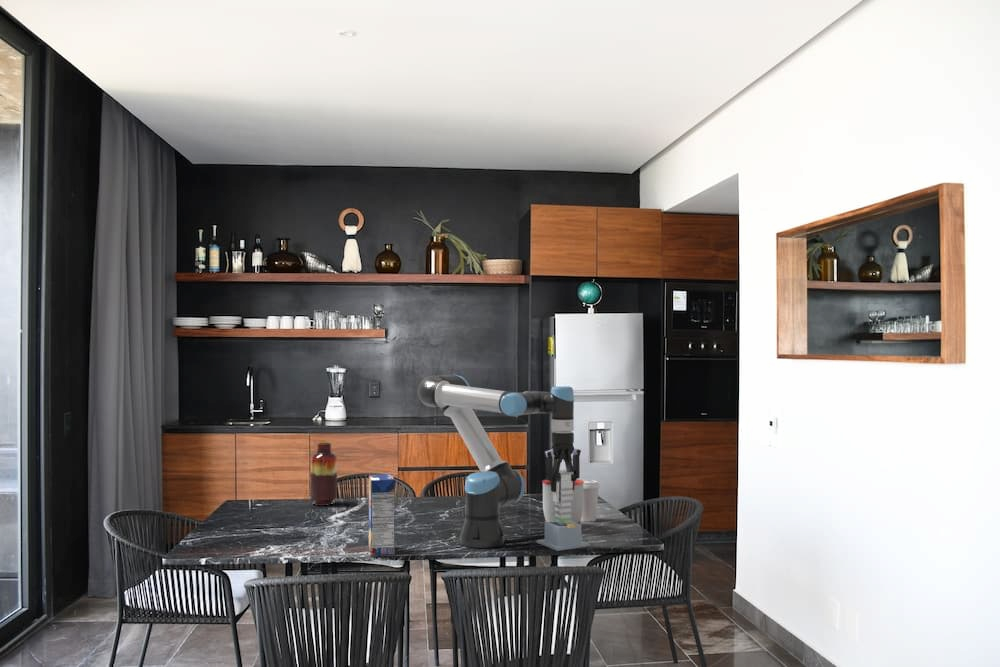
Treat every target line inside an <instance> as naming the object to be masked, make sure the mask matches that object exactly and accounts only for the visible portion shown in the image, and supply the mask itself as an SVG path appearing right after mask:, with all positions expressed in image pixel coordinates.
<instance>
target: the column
mask: <svg viewBox="0 0 1000 667" xmlns="http://www.w3.org/2000/svg"><path fill="white" fill-rule="evenodd" d="M571 474H573V472H572V471H567V470H566V469H561V470H560V469H559V472H558V479H557V482H559V502H555V505H553V507H555V511H553V513H555V516H554V517H553V519H555V524H557V525H560V526H565V525H567V524H571V520H573V518H572V517H571V514H573V512H572V511H571V508H573V506H571V502H573V500H571V496H573V494H571V490H573V488H571Z"/></svg>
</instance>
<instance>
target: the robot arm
mask: <svg viewBox="0 0 1000 667" xmlns="http://www.w3.org/2000/svg"><path fill="white" fill-rule="evenodd" d="M417 395H418V398H419V400H420V402H421V403H422V404H423V405H425V406H426V407H429V408H440V411H441V412H442V414H443V415H444V416H445V417H449V418H450V419H451V422H452V423H453V425H454V427H455V428H456V430H457V432H458V434H459V436H460V437H461V438H462V440H463V442H464V445H465V446H466V448H467V449H468V452H469V454H470V455H471V457H472V459H473V461H474V462H475V463H476V466H477V467H478V469H479V471H476V472H474V473H469V475H467V476H466V478H465V483H464V484H465V485H464V498H465V499H464V500H465V501H464V510H465V511H464V514H465V516H464V523H463V526H462V529H461V532H460V535H459V544H460V545H461V546H464V547H468V548H476V549H477V548H478V549H479V548H480V549H481V548H482V549H485V548H494V547H500V546H502V545H504V544H505V534H504V531H503V528H502V524H501V521H500V508H502V507H503V508H504V507H506V506H510V505H514V504H515V503H517V502H518V501H520V500H521V499H522V498H523V496H524V494H525V492H526V482H525V481H526V480H525V478H524V476H523V475H522V473H520V472H519V471H518V470H516V469H515V470H514V469H512V467H511V465H510V464H509V462H508V461H507V460H506V461H505V460H502V458H501V456H500V455H499V453H498V451H497V450H496V448H495V446H494V444H493V442H492V441H491V439H490V437H489V436H488V434H487V432H486V430H485V429H484V427H483V425H482V423H481V422H480V420H479V418H478V417H477V415H476V413H475V412H474V410H478V411H485V412H492V413H500V414H504V415H506V416H509V417H519V416H525V415H534V414H550V415H551V431H552V432H551V444H552V445H551V449H550V450H545V451H544V458H545V480H548V481H550V482H551V491H552V492H553V501H555V502H559V482H557V479H558V472H559V470H560V469H561V463H562V462H564V465H565V470H567V471H572V472H573V474H571V488H573V490H574V481H576V479H578V480H579V479H580V470H581V469H580V457H581V456H580V455H581V452H582V450H581V449H578V448H575V446H574V442H575V441H574V440H575V436H574V435H575V433H574V432H573V431H574V426H575V425H574V424H575V423H574V420H575V419H574V417H575V416H574V414H575V413H574V409H575V406H574V403H575V398H574V396H575V395H574V389H573V387H572V386H567V385H565V386H561V385H560V386H558V385H556V386H555V385H554V386H552V388H551V391H539V390H538V391H537V390H527V391H526V390H525V391H524V392H515V391H513V392H512V391H507V390H497V389H491V388H482V387H474V386H470V384H469V382H468V381H467V380H466V378H464V377H463V376H461V375H457V374H446V375H445V374H441V375H437V374H435V375H429V376H426V377H424V379H422V380H421V382H420V383H419V384H418V388H417ZM573 490H571V494H573ZM571 500H573V496H571Z"/></svg>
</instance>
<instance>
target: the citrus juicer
mask: <svg viewBox="0 0 1000 667" xmlns="http://www.w3.org/2000/svg"><path fill="white" fill-rule="evenodd" d="M582 480H583V479H579V478H578V479H576V481H574V490H573V502H571V506H573V508H571V511H572V512H573V514H571V517H572V518H573V520H571V521H572V522H575V523H578V524H581V522H582V521H581V517H582V513H583V483H584V481H582ZM541 483H542V510H543V516H544V519H545V522H552V521H555V519H553V517H554V516H555V513H553V511H555V507H553V505H555V501H553V492H552V491H551V482H550V481H548V480H546V479H543V480H541Z"/></svg>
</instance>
